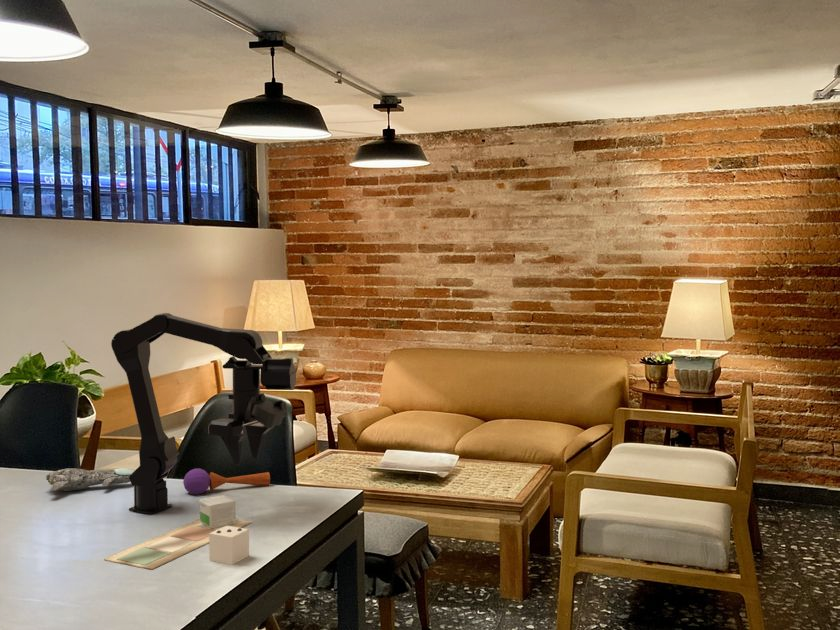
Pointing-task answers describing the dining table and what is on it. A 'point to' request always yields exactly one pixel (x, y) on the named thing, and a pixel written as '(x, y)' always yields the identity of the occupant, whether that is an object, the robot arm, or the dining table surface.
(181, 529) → the game board
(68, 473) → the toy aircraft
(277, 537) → the dining table surface
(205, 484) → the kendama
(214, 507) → the small box
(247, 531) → the die
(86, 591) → the dining table surface
